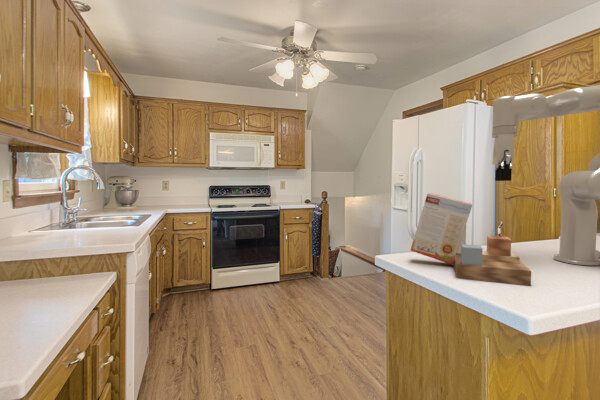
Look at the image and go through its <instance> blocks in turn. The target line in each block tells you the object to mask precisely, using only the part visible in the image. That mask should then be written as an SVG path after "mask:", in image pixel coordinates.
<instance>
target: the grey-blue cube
mask: <svg viewBox="0 0 600 400" xmlns="http://www.w3.org/2000/svg"><path fill="white" fill-rule="evenodd" d="M483 249H484V248H482V246H481V245H479V244H468V243H467V244H461V262H462V264H464V265H475V266H482V251H484V250H483Z"/></svg>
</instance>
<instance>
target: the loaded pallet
mask: <svg viewBox="0 0 600 400" xmlns="http://www.w3.org/2000/svg"><path fill="white" fill-rule="evenodd" d="M511 251H512V239H511V238H510V237H509V236H495V235H487V236H486V250H482V260H484V261H495V262H506V263H518V264H520V261H521V260H520V256H519V255H518V254H517V253H516V252H515V253H513V252H511Z"/></svg>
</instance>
